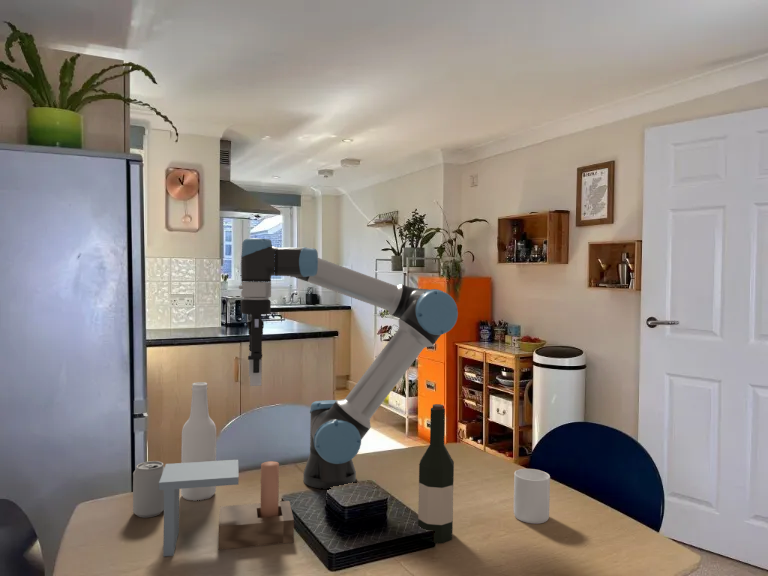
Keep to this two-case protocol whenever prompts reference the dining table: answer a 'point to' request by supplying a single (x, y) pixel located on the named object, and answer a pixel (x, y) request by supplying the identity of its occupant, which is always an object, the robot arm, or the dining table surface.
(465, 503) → the dining table surface
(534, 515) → the mug
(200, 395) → the alcohol
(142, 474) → the can
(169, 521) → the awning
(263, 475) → the peg
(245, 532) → the socket
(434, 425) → the wine bottle
